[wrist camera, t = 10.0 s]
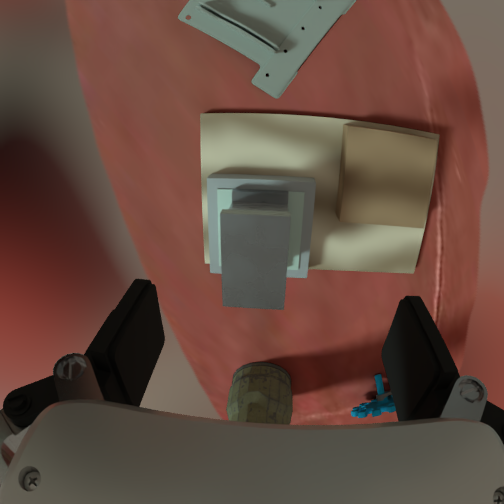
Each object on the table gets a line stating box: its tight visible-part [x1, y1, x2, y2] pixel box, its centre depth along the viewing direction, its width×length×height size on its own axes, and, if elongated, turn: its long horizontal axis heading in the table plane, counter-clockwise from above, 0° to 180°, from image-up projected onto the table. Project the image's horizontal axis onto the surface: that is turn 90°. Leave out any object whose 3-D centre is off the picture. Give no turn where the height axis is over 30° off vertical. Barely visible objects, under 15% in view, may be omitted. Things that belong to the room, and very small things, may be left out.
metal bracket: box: [178, 0, 356, 98], centre depth 23 cm, size 14×6×15 cm
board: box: [200, 113, 439, 273], centre depth 31 cm, size 16×24×1 cm, turn 89°
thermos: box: [226, 362, 292, 425], centre depth 29 cm, size 9×12×35 cm
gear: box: [351, 374, 396, 418], centre depth 41 cm, size 11×6×10 cm
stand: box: [335, 124, 438, 229], centre depth 28 cm, size 9×9×2 cm
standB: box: [207, 174, 316, 278], centre depth 31 cm, size 10×10×2 cm
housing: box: [220, 189, 291, 310], centre depth 27 cm, size 8×5×7 cm, turn 179°
